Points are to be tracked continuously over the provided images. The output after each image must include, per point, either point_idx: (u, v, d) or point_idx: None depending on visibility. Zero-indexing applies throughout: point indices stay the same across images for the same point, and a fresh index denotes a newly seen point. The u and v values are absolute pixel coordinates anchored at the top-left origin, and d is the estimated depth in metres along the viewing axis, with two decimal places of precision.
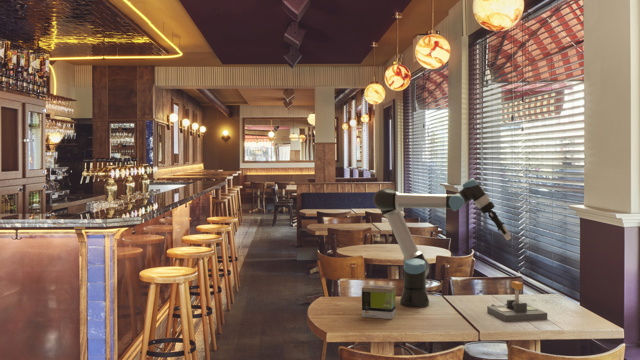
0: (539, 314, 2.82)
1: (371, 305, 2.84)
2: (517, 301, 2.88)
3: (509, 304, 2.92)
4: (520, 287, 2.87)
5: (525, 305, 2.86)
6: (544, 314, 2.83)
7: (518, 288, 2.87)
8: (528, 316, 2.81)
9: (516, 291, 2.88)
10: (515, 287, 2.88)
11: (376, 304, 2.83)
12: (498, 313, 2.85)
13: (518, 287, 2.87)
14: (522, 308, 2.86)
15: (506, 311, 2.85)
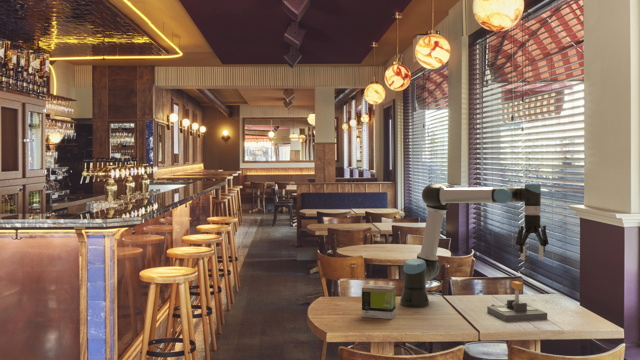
0: (539, 314, 2.82)
1: (371, 305, 2.84)
2: (517, 301, 2.88)
3: (509, 304, 2.92)
4: (520, 287, 2.87)
5: (525, 305, 2.86)
6: (544, 314, 2.83)
7: (518, 288, 2.87)
8: (528, 316, 2.81)
9: (516, 291, 2.88)
10: (515, 287, 2.88)
11: (376, 304, 2.83)
12: (498, 313, 2.85)
13: (518, 287, 2.87)
14: (522, 308, 2.86)
15: (506, 311, 2.85)
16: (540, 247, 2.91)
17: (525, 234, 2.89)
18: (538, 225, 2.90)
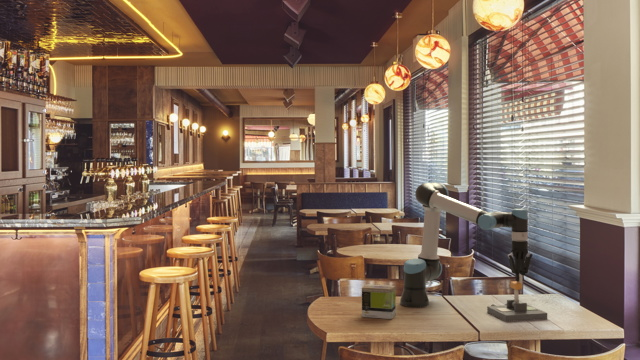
0: (539, 314, 2.82)
1: (371, 304, 2.84)
2: (517, 301, 2.88)
3: (509, 304, 2.92)
4: (519, 287, 2.87)
5: (525, 305, 2.86)
6: (544, 314, 2.83)
7: (517, 288, 2.87)
8: (528, 316, 2.81)
9: (515, 291, 2.88)
10: (514, 287, 2.88)
11: (376, 304, 2.83)
12: (498, 313, 2.85)
13: (517, 287, 2.86)
14: (522, 308, 2.86)
15: (506, 311, 2.85)
16: None
17: (516, 262, 2.89)
18: (526, 251, 2.89)
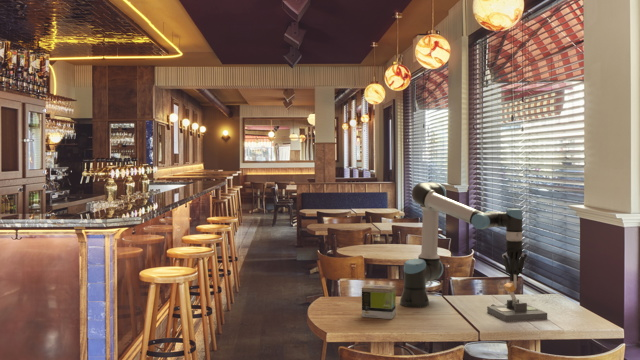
0: (539, 314, 2.82)
1: (371, 305, 2.84)
2: (515, 302, 2.88)
3: (509, 304, 2.92)
4: (513, 289, 2.86)
5: (525, 305, 2.86)
6: (544, 314, 2.83)
7: (511, 290, 2.86)
8: (528, 316, 2.81)
9: (511, 293, 2.88)
10: (508, 290, 2.87)
11: (376, 304, 2.83)
12: (498, 313, 2.85)
13: (511, 289, 2.86)
14: (522, 308, 2.86)
15: (506, 311, 2.85)
16: None
17: (510, 261, 2.88)
18: (520, 251, 2.88)
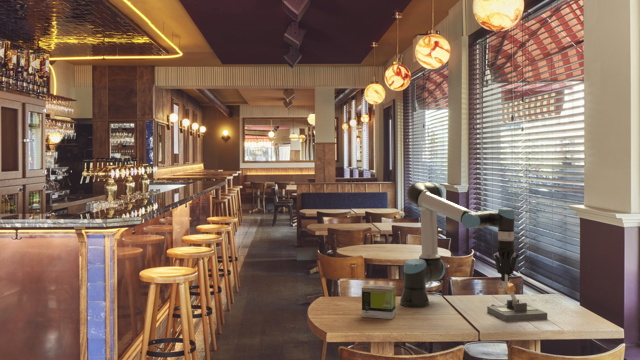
0: (539, 314, 2.82)
1: (371, 305, 2.84)
2: (515, 302, 2.88)
3: (509, 304, 2.92)
4: (513, 289, 2.86)
5: (525, 305, 2.86)
6: (544, 314, 2.83)
7: (511, 290, 2.86)
8: (528, 316, 2.81)
9: (511, 293, 2.88)
10: (508, 290, 2.87)
11: (376, 304, 2.83)
12: (498, 313, 2.85)
13: (511, 289, 2.86)
14: (522, 308, 2.86)
15: (506, 311, 2.85)
16: None
17: (502, 261, 2.87)
18: (512, 251, 2.87)
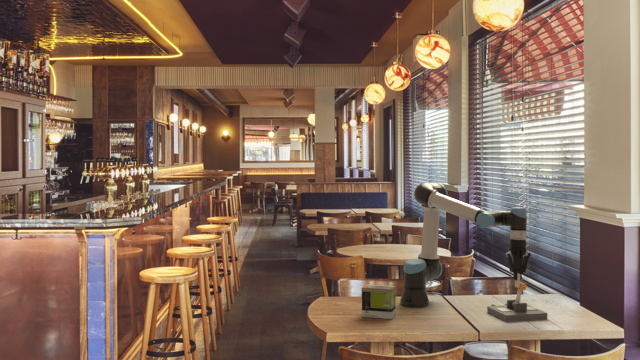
0: (539, 314, 2.82)
1: (371, 305, 2.84)
2: (518, 301, 2.89)
3: (509, 304, 2.92)
4: (524, 287, 2.87)
5: (525, 305, 2.86)
6: (544, 314, 2.83)
7: (521, 288, 2.87)
8: (528, 316, 2.81)
9: (519, 291, 2.89)
10: (519, 287, 2.88)
11: (376, 304, 2.83)
12: (498, 313, 2.85)
13: (522, 287, 2.87)
14: (522, 308, 2.86)
15: (506, 311, 2.85)
16: None
17: (514, 260, 2.88)
18: (524, 249, 2.88)
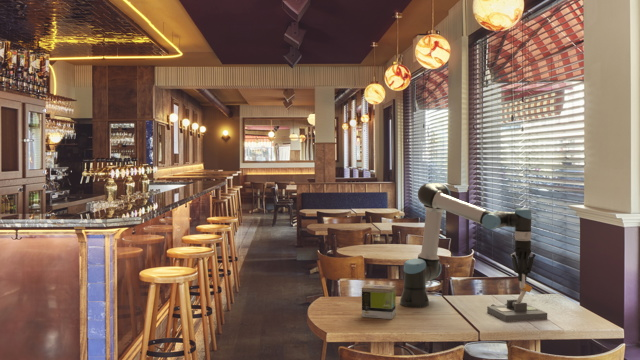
0: (539, 314, 2.82)
1: (371, 305, 2.84)
2: (519, 301, 2.89)
3: (509, 304, 2.92)
4: (528, 289, 2.88)
5: (525, 305, 2.86)
6: (544, 314, 2.83)
7: (526, 289, 2.88)
8: (528, 316, 2.81)
9: (523, 292, 2.89)
10: None
11: (376, 304, 2.83)
12: (498, 313, 2.85)
13: (527, 288, 2.88)
14: (522, 308, 2.86)
15: (506, 311, 2.85)
16: None
17: (519, 261, 2.88)
18: (529, 250, 2.88)
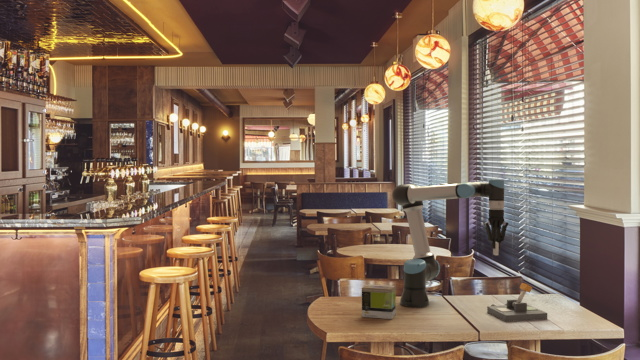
0: (539, 314, 2.82)
1: (371, 305, 2.84)
2: (519, 301, 2.89)
3: (509, 304, 2.92)
4: (528, 289, 2.88)
5: (525, 305, 2.86)
6: (544, 314, 2.83)
7: (526, 289, 2.88)
8: (528, 316, 2.81)
9: (523, 292, 2.89)
10: (524, 288, 2.89)
11: (376, 304, 2.83)
12: (498, 313, 2.85)
13: (527, 288, 2.88)
14: (522, 308, 2.86)
15: (506, 311, 2.85)
16: None
17: (492, 229, 2.99)
18: (502, 219, 2.98)
